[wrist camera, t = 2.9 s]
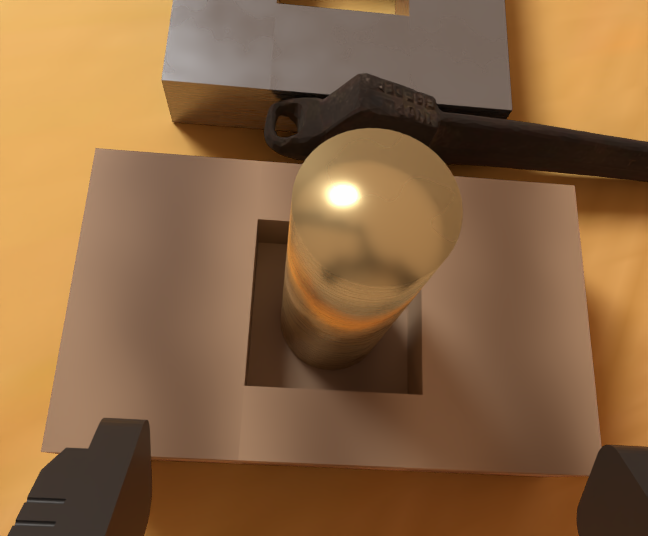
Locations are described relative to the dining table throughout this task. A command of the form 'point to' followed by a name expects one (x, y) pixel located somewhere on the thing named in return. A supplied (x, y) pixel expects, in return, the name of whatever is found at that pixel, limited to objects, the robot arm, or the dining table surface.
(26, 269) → the dining table surface
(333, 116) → the wrench
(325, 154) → the gold round-topped peg
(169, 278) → the brown recessed block
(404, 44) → the block
